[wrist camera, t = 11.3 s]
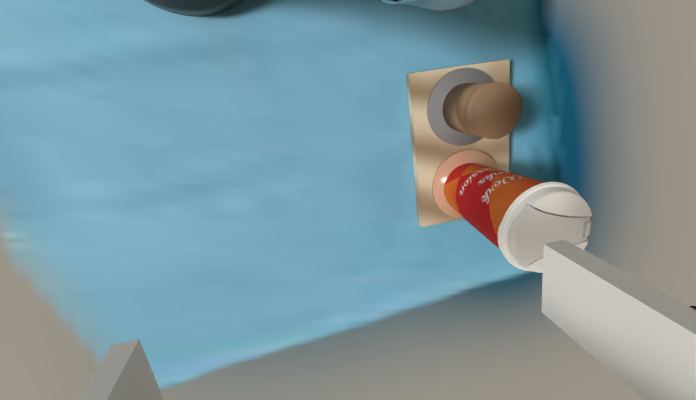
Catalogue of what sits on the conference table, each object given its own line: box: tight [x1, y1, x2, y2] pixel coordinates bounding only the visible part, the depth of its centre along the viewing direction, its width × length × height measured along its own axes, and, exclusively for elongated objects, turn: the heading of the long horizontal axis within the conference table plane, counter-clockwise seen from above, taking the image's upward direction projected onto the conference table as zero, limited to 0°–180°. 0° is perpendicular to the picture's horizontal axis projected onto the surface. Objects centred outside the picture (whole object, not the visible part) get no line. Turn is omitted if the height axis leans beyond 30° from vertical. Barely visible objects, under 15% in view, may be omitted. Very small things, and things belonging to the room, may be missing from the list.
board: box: [407, 59, 510, 227], centre depth 41 cm, size 17×11×1 cm, turn 7°
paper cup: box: [444, 163, 592, 273], centre depth 35 cm, size 8×8×14 cm
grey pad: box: [427, 68, 493, 146], centre depth 39 cm, size 8×8×1 cm
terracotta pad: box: [432, 149, 498, 219], centre depth 42 cm, size 8×8×1 cm
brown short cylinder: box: [443, 82, 522, 139], centre depth 36 cm, size 5×5×6 cm
